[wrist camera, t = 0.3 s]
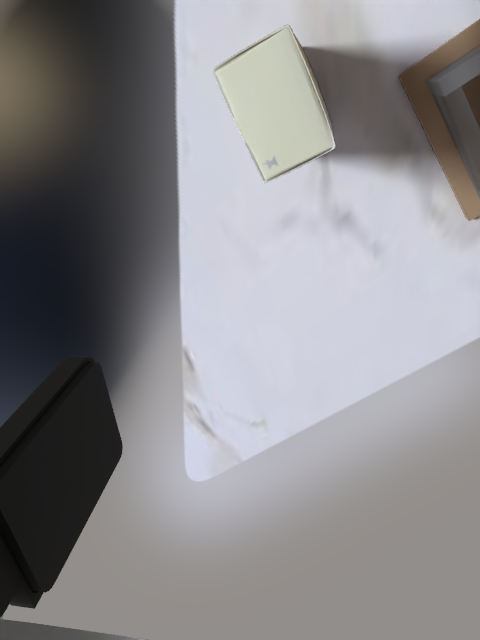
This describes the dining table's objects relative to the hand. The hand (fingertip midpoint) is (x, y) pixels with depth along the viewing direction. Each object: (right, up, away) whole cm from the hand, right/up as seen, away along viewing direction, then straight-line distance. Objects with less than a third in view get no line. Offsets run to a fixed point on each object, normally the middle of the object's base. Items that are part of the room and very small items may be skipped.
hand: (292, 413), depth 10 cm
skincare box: (+3, +19, +22) cm, 29 cm away
